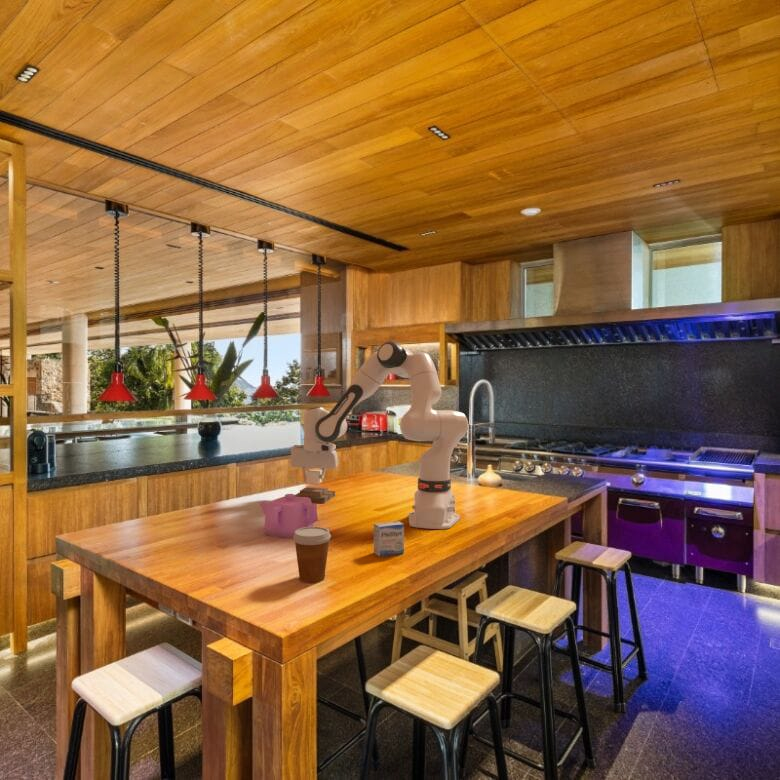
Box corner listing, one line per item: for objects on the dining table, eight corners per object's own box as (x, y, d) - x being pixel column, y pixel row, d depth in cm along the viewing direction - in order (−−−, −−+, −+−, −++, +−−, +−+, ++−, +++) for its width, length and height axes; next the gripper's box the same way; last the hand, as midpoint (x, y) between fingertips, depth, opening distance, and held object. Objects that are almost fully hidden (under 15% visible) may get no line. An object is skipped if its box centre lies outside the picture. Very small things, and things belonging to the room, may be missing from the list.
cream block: (317, 484, 220) (317, 472, 220) (306, 483, 221) (306, 471, 221) (321, 481, 225) (321, 470, 225) (310, 481, 226) (310, 469, 226)
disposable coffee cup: (285, 582, 132) (285, 534, 132) (305, 569, 141) (305, 524, 141) (319, 587, 129) (319, 538, 128) (337, 574, 137) (337, 528, 137)
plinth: (324, 503, 215) (324, 493, 215) (291, 501, 218) (291, 491, 218) (335, 495, 228) (335, 486, 228) (304, 494, 231) (304, 485, 231)
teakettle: (270, 542, 165) (270, 502, 164) (258, 528, 180) (258, 491, 180) (322, 535, 172) (322, 497, 172) (307, 522, 187) (307, 487, 187)
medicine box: (379, 557, 151) (379, 527, 150) (373, 552, 155) (373, 523, 154) (404, 553, 154) (404, 524, 154) (398, 549, 158) (398, 520, 158)
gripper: (287, 445, 222) (287, 478, 222) (334, 447, 218) (334, 480, 218) (293, 443, 228) (293, 475, 228) (339, 445, 224) (339, 477, 224)
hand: (314, 478), depth 223 cm, fingers closed on cream block, 5 cm apart
